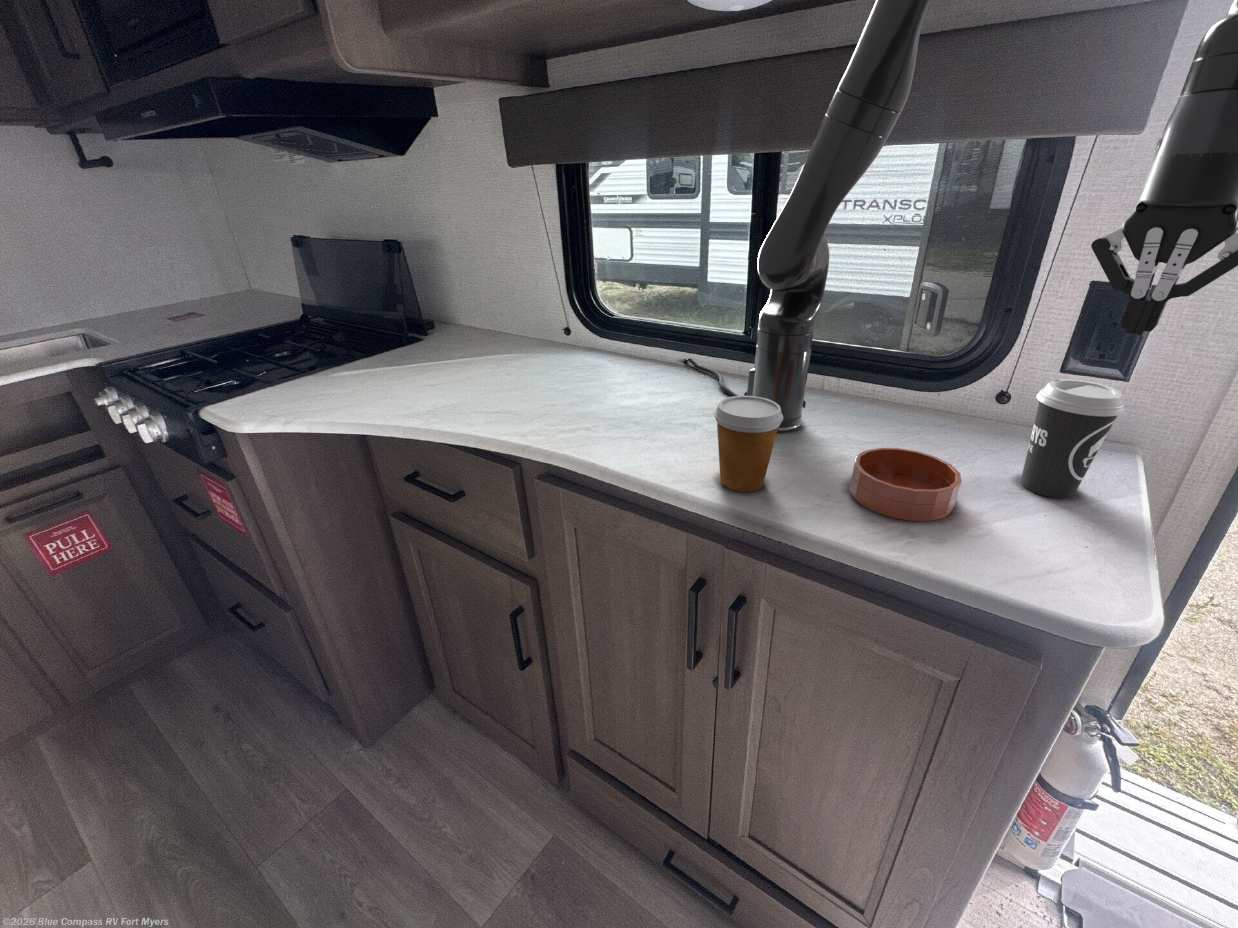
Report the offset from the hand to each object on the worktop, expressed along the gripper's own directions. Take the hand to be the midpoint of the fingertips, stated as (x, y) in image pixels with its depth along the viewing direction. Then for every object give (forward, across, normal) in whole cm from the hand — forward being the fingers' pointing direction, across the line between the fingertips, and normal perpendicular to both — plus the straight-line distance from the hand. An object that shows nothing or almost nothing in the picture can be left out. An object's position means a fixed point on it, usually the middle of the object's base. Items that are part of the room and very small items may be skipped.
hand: (1134, 334), depth 61 cm
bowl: (+25, +17, +6) cm, 31 cm away
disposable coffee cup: (+25, +35, +19) cm, 47 cm away
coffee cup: (+25, +4, -12) cm, 28 cm away
